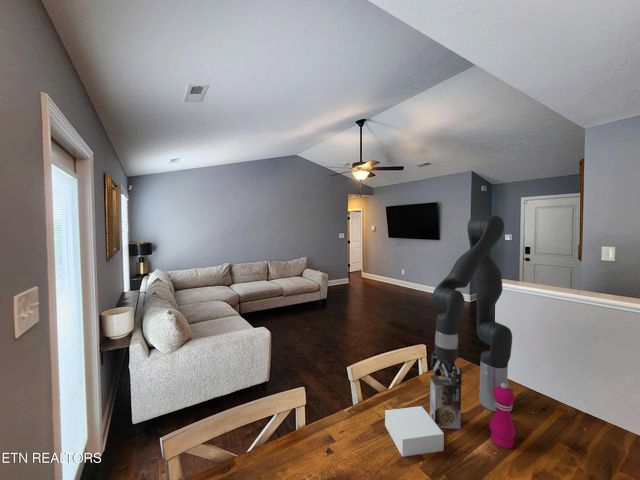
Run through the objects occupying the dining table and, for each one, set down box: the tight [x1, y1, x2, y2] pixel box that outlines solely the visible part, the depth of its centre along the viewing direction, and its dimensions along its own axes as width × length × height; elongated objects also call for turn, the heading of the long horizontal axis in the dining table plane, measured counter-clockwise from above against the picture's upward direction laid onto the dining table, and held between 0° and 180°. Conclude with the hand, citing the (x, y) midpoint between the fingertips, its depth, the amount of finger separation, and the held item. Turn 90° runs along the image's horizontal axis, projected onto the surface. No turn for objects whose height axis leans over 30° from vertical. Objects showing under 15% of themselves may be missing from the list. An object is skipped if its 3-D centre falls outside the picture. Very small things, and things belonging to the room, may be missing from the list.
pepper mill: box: [489, 383, 516, 449], centre depth 96 cm, size 7×7×20 cm
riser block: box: [384, 405, 445, 458], centre depth 98 cm, size 14×14×6 cm
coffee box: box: [429, 374, 462, 430], centre depth 105 cm, size 9×6×16 cm
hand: (444, 387), depth 105 cm, fingers open, 8 cm apart
